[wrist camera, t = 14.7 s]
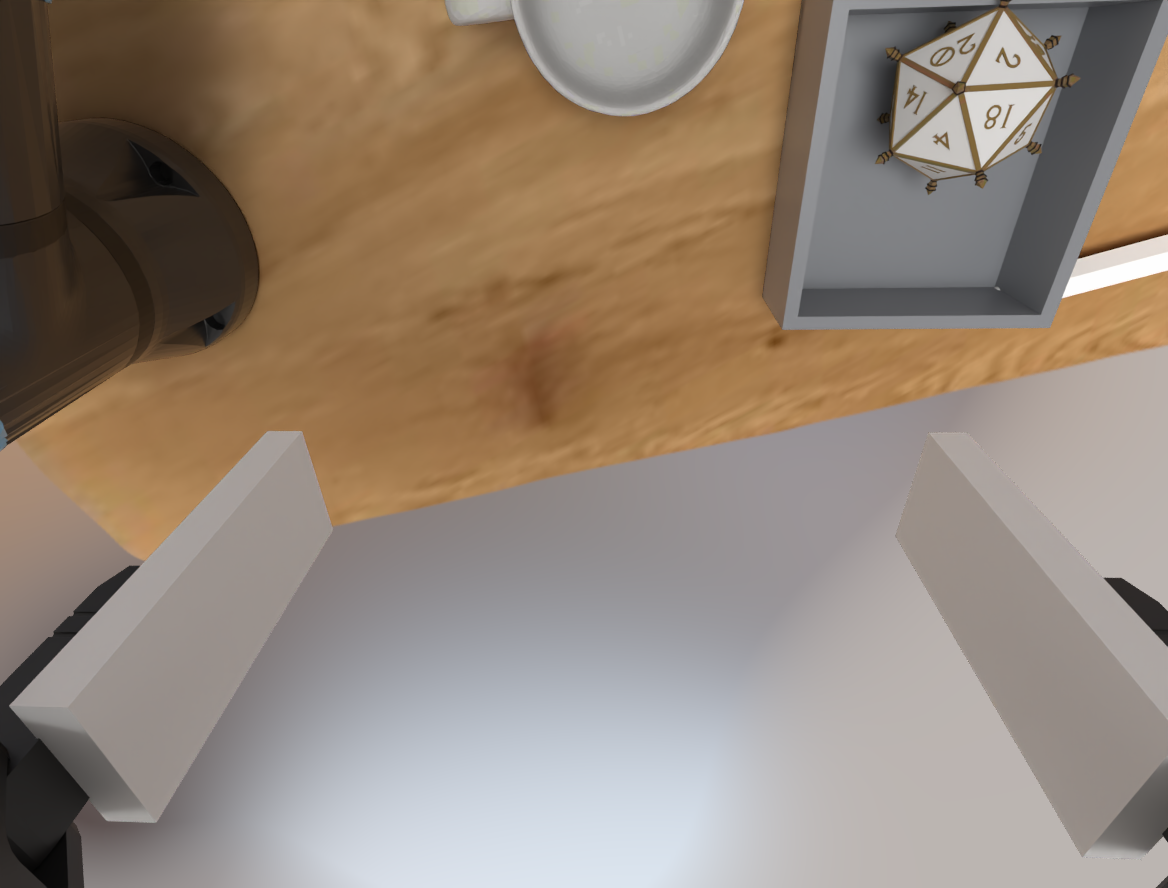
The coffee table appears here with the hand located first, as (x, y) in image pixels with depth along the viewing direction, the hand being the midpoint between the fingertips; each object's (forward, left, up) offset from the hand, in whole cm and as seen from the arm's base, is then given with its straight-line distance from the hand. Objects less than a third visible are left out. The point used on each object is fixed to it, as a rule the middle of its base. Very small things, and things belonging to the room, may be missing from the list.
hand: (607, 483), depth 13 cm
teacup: (-1, +11, -31) cm, 33 cm away
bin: (+18, +2, -31) cm, 36 cm away
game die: (+18, +3, -29) cm, 34 cm away
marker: (+31, -4, -31) cm, 44 cm away
